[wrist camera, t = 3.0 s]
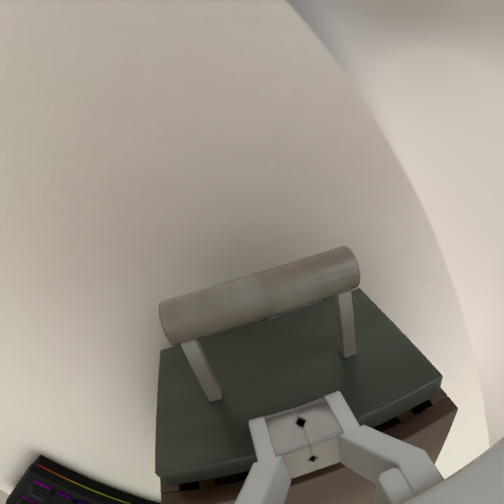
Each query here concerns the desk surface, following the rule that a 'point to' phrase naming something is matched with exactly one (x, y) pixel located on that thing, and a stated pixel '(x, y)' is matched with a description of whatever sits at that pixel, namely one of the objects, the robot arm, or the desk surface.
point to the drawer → (276, 363)
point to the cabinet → (336, 466)
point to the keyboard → (65, 488)
